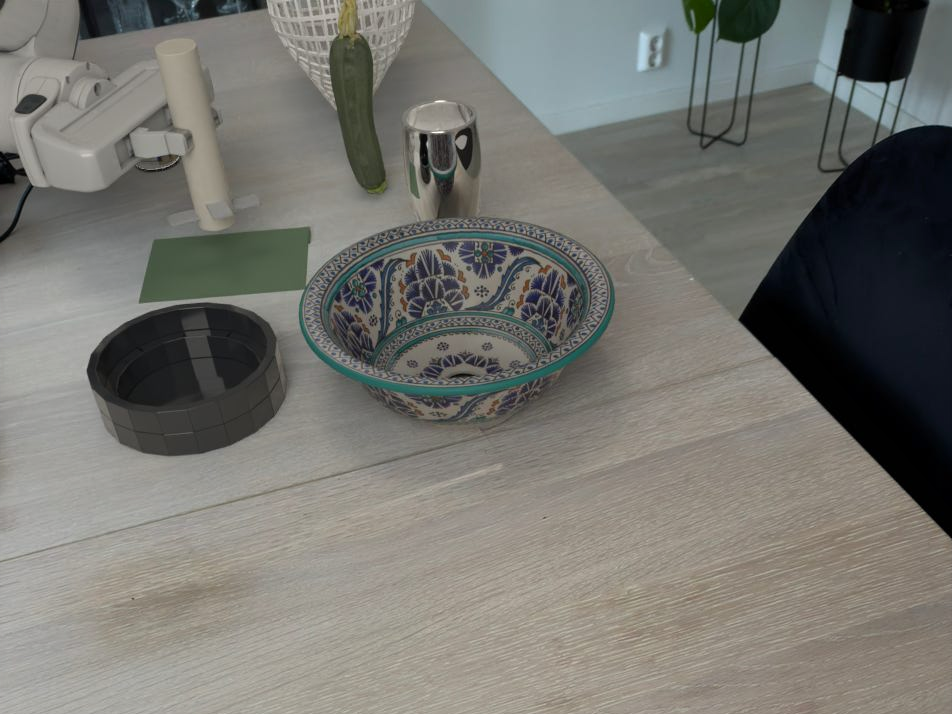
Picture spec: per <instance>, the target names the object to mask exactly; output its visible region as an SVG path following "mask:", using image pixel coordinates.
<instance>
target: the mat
mask: <svg viewBox="0 0 952 714" xmlns="http://www.w3.org/2000/svg"><path fill="white" fill-rule="evenodd" d="M310 244H311V227H310V226H300V227H287V228H278V229H266V230H264V229H263V230H254V231H242V232H229V233H219V234H217V233H216V234H206V235H194V236H192V235H191V236H183V237H180V236H179V237H170V238H169V237H168V238H158V239H153V241H152V245H151V249H150V254H149V258H148V261H147V266H146V270H145V274H144V279H143V281H142V282H143V283H142V286H141V291H140V294H139V299H138V304H151V303H162V302H175V301H187V300H188V301H189V300H199V299H200V300H201V299H210V298H223V297H233V296H247V295H258V294H271V293H280V292H281V293H282V292H283V293H284V292H293V291H295V292H296V291H304V290H305V288H306V286H307V276H308V275H307V274H308V273H307V272H308V258H309V245H310Z"/></svg>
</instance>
